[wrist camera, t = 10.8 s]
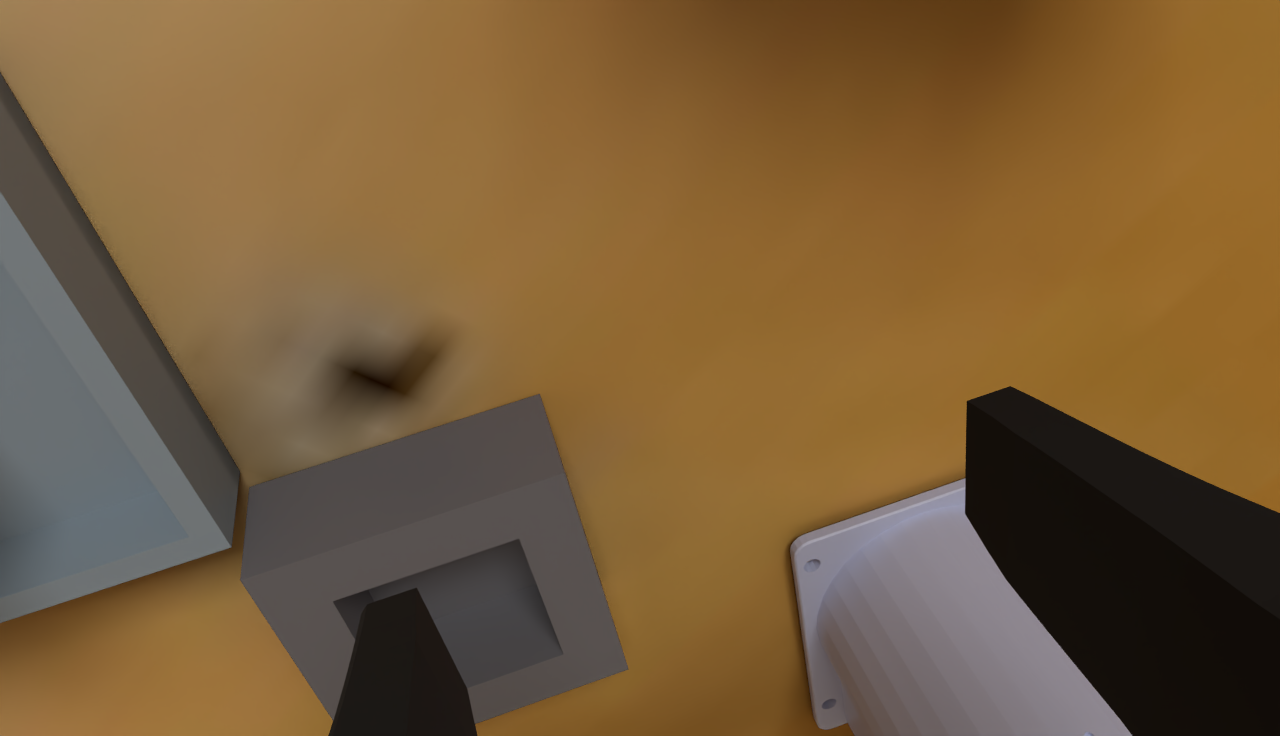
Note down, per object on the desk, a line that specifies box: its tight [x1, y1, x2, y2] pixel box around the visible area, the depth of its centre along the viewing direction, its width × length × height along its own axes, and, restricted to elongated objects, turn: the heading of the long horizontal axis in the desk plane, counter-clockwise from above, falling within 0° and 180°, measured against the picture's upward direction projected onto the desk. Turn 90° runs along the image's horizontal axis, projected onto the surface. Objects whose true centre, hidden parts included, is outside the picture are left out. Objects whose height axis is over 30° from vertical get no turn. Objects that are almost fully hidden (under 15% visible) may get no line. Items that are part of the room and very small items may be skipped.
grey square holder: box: [240, 394, 628, 724], centre depth 23 cm, size 7×7×3 cm
